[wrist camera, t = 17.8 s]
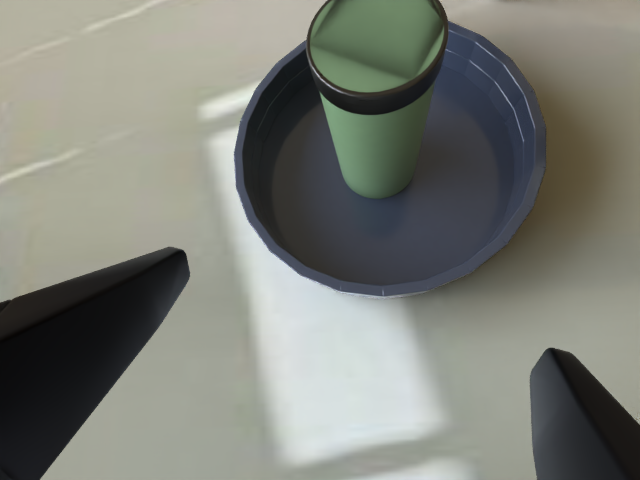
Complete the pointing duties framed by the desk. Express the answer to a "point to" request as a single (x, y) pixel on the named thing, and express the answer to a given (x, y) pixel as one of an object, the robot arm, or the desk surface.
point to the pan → (416, 198)
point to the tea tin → (377, 84)
